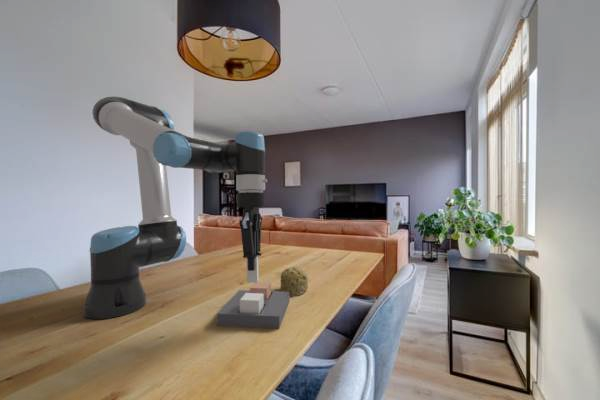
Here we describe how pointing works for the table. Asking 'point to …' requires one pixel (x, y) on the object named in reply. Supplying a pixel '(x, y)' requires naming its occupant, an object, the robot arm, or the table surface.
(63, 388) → the table surface
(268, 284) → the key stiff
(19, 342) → the table surface
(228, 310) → the key panel
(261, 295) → the key soft
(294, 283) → the rock
